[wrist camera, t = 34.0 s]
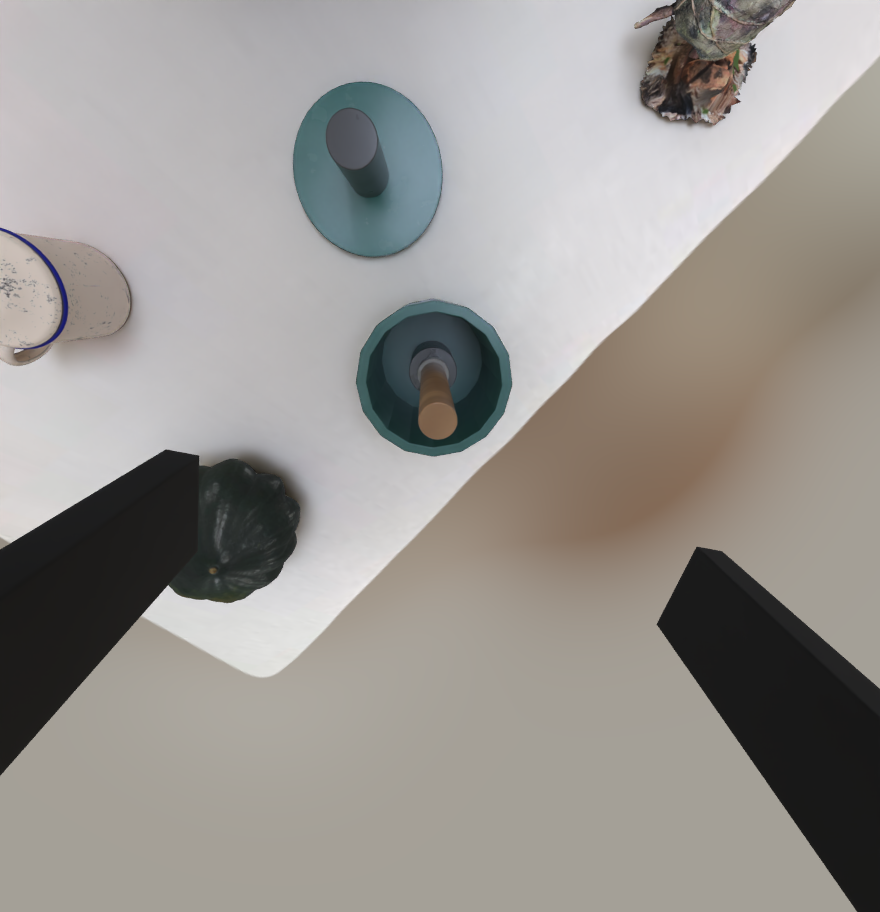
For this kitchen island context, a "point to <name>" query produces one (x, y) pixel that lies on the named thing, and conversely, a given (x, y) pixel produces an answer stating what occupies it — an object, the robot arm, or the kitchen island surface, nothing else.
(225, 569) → the squash
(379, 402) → the tin
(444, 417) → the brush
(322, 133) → the lid
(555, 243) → the kitchen island surface
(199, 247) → the kitchen island surface
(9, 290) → the teacup with lid
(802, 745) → the robot arm
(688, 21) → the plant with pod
